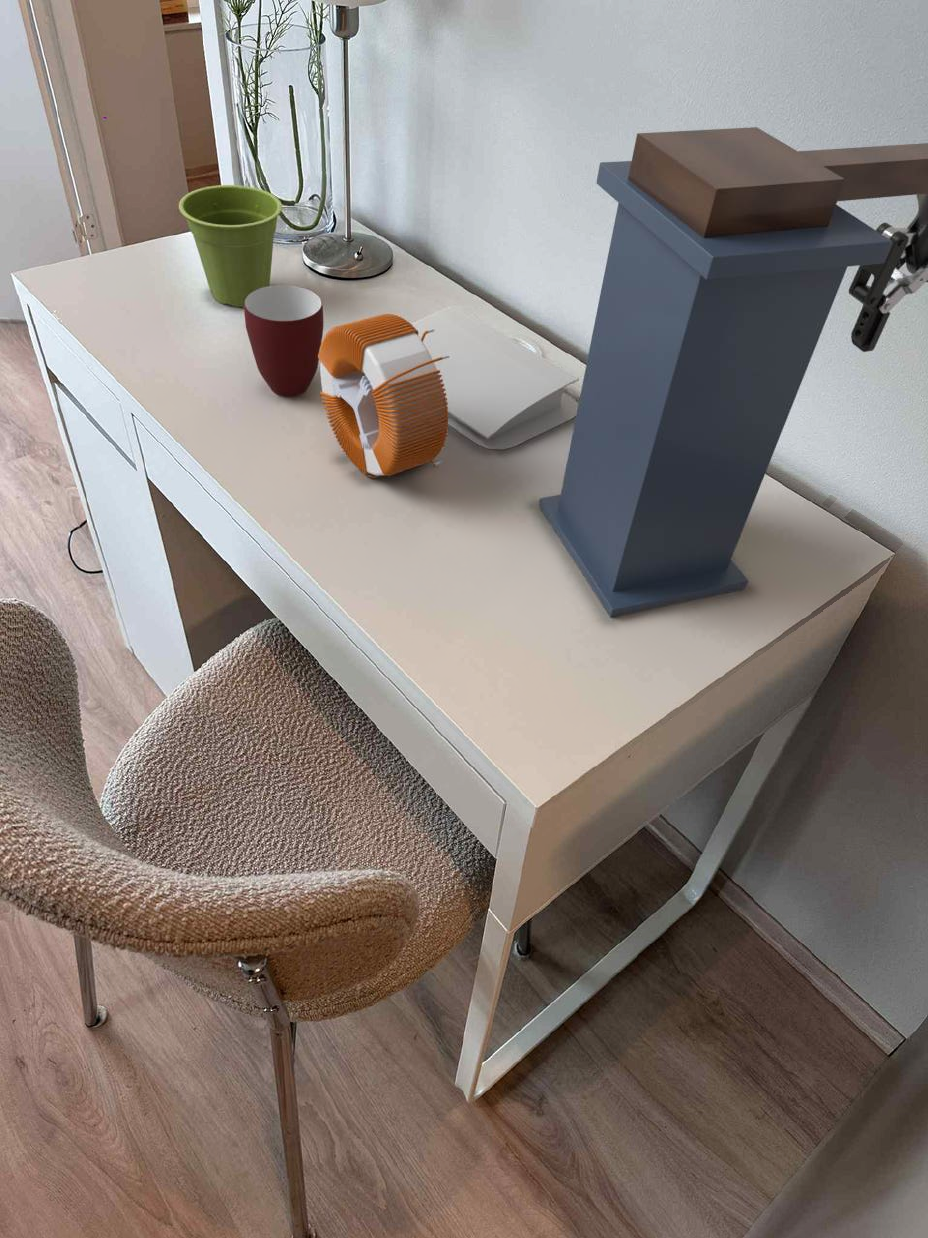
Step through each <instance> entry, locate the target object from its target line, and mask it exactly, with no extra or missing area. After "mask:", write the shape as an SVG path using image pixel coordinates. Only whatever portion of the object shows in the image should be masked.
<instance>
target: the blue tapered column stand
mask: <svg viewBox="0 0 928 1238" xmlns="http://www.w3.org/2000/svg"><path fill="white" fill-rule="evenodd" d="M631 161H632V160H624V161H623V160H622V161H621V160H620V161H601V162H599V166H598V172H597V177H596V182H595V183H596V184H597V186H599V187H600V188H601V189H602V190H603V191H604V192H606V193H607V194H608V195H609V196H610V197H611V198H612V199H614V201H616V202H617V208H616V213H615V219H614V223H613V227H612V234H611V238H610V243H609V248H608V254H607V257H606V264H605V269H604V273H603V279H602V284H601V290H600V293H599V298H598V304H597V309H596V313H595V318H594V324H593V329H592V334H591V339H590V344H589V350H588V355H587V359H586V364H585V369H584V375H583V379H582V384H581V390H580V395H579V399H578V409H577V414H576V416H575V420H574V425H573V430H572V435H571V439H570V445H569V450H568V456H567V461H566V465H565V471H564V476H563V481H562V486H561V491H560V494H556V495H550V496H544V497H540V498H539V502H538V507H539V508H540V510H541V512H542V513H543V515H544V516H545V517H546V519H547V521H548V522H549V524H550V526H551V527H552V529H553V530H554V532H555V534H556V535H557V537H558V538H559V539H560V542H561V543H562V545H563V546H564V548H565V549H566V551H567V552H568V555H570V557H571V559H572V560H573V562H574V564H575V565H576V566H577V568H578V569H579V571H580V573H581V574H582V576H583V577H584V579H585V581H586V583H588V585H589V587H590V588H591V590H592V591H593V594H595V596H596V597H597V599H598V600H599V602H600V604H601V605H602V607H603V608H604V610H605V611H606V613H607V614H608V617H609V618H615V617H619V616H623V615H628V614H634V613H637V612H642V611H643V612H644V611H647V610H648V611H649V610H650V609H651V610H653V609H656V608H661V607H665V606H670V605H675V604H679V603H685V602H688V601H694V600H699V599H703V598H707V597H711V596H717V595H721V594H726V593H730V592H735V591H739V590H745V589H746V588H747V585H748V583H749V580H748V579H747V577H746V576H745V575H744V573H743V572H742V571H741V569H739V567H738V566H737V565H736V564H735V563H734V561H733V560H732V558H733V556H734V553H735V550H736V548H737V545H738V544H739V541H740V538H741V535H742V533H743V530H744V528H745V525H746V523H747V520H748V518H749V515H750V513H751V511H752V508H753V505H754V503H755V500H756V498H757V496H758V493H759V490H760V487H761V486H762V483H763V481H764V478H765V475H766V473H767V470H768V468H769V465H770V463H771V460H772V457H773V455H774V452H775V450H776V447H777V445H778V443H779V441H780V437H781V435H782V432H783V430H784V427H785V425H786V422H787V421H788V417H789V415H790V412H791V410H792V408H793V405H794V402H795V400H796V397H797V395H798V392H799V391H800V387H801V385H802V382H803V380H804V378H805V374H806V372H807V370H808V367H809V365H810V362H811V360H812V357H813V355H814V352H815V349H816V347H817V345H818V342H819V340H820V337H821V334H822V332H823V329H824V327H825V325H826V322H827V320H828V316H829V314H830V312H831V309H832V307H833V304H834V301H835V299H836V296H837V294H838V292H839V289H840V287H841V284H842V282H843V279H844V277H845V274H846V272H847V269H848V267H859V266H860V265H870V264H880V263H884V262H885V260H886V257H887V255H888V253H889V250H890V248H891V246H892V243H893V241H891V240H890V239H888V238H887V237H885V236H884V235H882V234H881V233H879V232H877V231H876V229H874V227H872V226H870V225H868V224H867V223H865V222H864V221H862V220H860V219H859V217H856V216H855V215H853V214H852V213H851V212H848V211H847V210H845V208H842V207H841V206H839V205H838V204H836V206H835V209H834V212H833V214H832V217H831V220H830V223H829V225H828V226H820V227H809V228H799V229H789V230H778V231H768V232H758V233H747V234H737V235H727V236H716V237H706V238H704V237H702V236H701V235H700V234H698V233H697V232H696V231H694V230H693V229H692V228H691V227H689V226H688V225H687V224H685V223H684V222H683V221H682V220H680V219H679V218H678V217H676V216H675V215H674V214H673V213H671V212H670V211H669V210H667V209H666V208H665V207H664V206H662V205H661V204H660V203H658V202H657V201H656V200H654V199H653V198H652V197H651V196H649V195H648V194H647V193H645V192H644V191H643V190H642V189H640V188H639V187H638V186H636V185H635V184H634V183H633V182H631V181H630V180H629V179H628V176H629V171H630V166H631Z"/></svg>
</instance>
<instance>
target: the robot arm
mask: <svg viewBox="0 0 928 1238" xmlns="http://www.w3.org/2000/svg"><path fill="white" fill-rule="evenodd" d="M916 200H917V206H918V208H917V209H918V210H917V213H916V215H915V217H914V218H913V220H912V221H911V222H910V223H909V225H908V226H907V227H902V228H901V227H900V228H899V227H898V228H896V227H895V226H893V225H891V224H890V223H888V222H882V223H880V224H879V225H878V226H877V228H876V229H875V230H876V231H877V232H879V233H881V234H882V235H884V236H885V237H887V238H888V239H890V240H891V241H893V243H892V246H891V248H890V250H889V253H888V255H887V257H886V260H885V262H884V263H880V264H870V265H859V266H858V268H857V271H856V273H855V275H854V277H853V279H852V282H851V284H850V286H849V288H848V294H849V295H850V296H852V297H853V298H854V299H856V301H858V302H859V303H861V304H862V308H861V309H860V312H859V315H858V317H857V319H856V322H855V323H854V325H853V328H852V331H851V334H850V339H851V343H852V345H854V346H855V348H857V349H858V350H860V351H861V352H863V353H867V352H873V351H874V350H875V349H876V346H877V343H878V341H879V339H880V337H881V335H882V333H883V332H884V331H883V330H884V328H885V326H886V324H887V322H888V320H889V317H890V316H891V312H890V311H891V310H893V308H894V307H895V306H896V305H898V304H899V302H900V301H901V300H902V299H903V298H904V297H905V296H907V295H912V294H915V293H916V292H917V291H919V289H921V287H922V286H923V285H925V284H926V283H928V194H917V195H916ZM904 265H905V268H906V269H907V271H908V272H909V274H911V275H906V274H905V273H903V272H902V271H901V270H900V269H901V268H902V267H903V266H904ZM872 276H873V279H872V282H871V284H870V285H868V283H869V281H870V278H871V277H872ZM892 284H895V286H894V287H893V288H892V289H891V290H890V291H889V292H888V293H887V294H885V291H886V289H888V287H889V286H890V285H892Z"/></svg>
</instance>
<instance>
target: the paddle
mask: <svg viewBox="0 0 928 1238" xmlns="http://www.w3.org/2000/svg"><path fill="white" fill-rule="evenodd" d="M630 161H631V166H630V171H629V176H628V179H629V180H630V181H631V182H633V183H634V184H635V185H636V186H638V187H639V188H640V189H642V190H643V191H644V192H645V193H647V194H648V195H649V196H651V197H652V198H653V199H654V200H656V201H657V202H658V203H660V204H661V205H662V206H664V207H665V208H666V209H667V210H669V211H670V212H671V213H673V214H674V215H675V216H676V217H678V218H679V219H680V220H682V221H683V222H684V223H685V224H687V225H688V226H689V227H691V228H692V229H693V230H694V231H696V232H697V233H698V234H700V235H701V236H702V237H704V238H706V237H716V236H727V235H737V234H747V233H758V232H768V231H778V230H789V229H799V228H809V227H820V226H828V225H829V223H830V220H831V217H832V214H833V212H834V209H835V206H836V205H838V204H837V203H838V202H847V201H856V200H857V201H858V200H870V199H879V198H880V199H881V198H893V197H905V196H915V195H916V196H917V194H928V142H924V143H922V142H921V143H909V144H907V143H906V144H893V145H890V144H889V145H877V146H875V145H874V146H859V147H846V148H843V147H842V148H828V149H815V150H814V149H811V150H796V149H794V148H793V147H791V146H790V145H788V144H786V143H784V142H783V141H781V140H780V139H778V138H776V137H775V136H773V135H771V134H769V133H767V132H766V131H764V130H762V129H761V128H759V127H757V126H754V127H753V126H752V127H751V126H750V127H733V128H716V129H696V130H695V129H694V130H677V131H676V130H675V131H659V132H658V131H656V132H655V131H654V132H638V133H636V137H635V142H634V147H633V151H632V157H631V160H630Z"/></svg>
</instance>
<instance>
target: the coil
mask: <svg viewBox="0 0 928 1238" xmlns="http://www.w3.org/2000/svg"><path fill="white" fill-rule="evenodd" d="M430 332H434V329H430V330H427V331H425V332H424V333H423V335H422V338H421V339H420V337H419V336H418V330H416V328H415V327H413V325H411V322H410V321H408V320H407V319H405V318H404V317H402V316H399V315H396V314H394V313H383V314H379V315H375V316H372V317H371V316H370V317H367V318H363V319H360V320H356V321H352V322H347V323H345V324H341V325H337V326H335V327H332V328H331V329H330V330H328V331H327V332H326V333H325V335H324V337H322V342H321V346H320V349H319V354H318V358H319V362H320V365H319V366H320V367H319V368H320V369H319V372H320V373H319V374H320V384H321V391H320V395H321V396H320V398H321V399H322V400H321V402H322V403H323V405H322V406H323V407H324V411H325V415H328V416H327V418H326V419H328V423H329V426H330V427H331V431H333V435H335V436H334V437H335V439H336V440H337V442H338V444H339V446H340V448H341V449H342V451H343V452H344V454H345V455H346V457H347V458H348V459H349V461H350V462H351V463H352V464H353V465H354V466H355V467H356V469H358V470H359V471H360V472H361V473H363V474H364V475H365V476H366V477H368V478H380V477H381V478H382V477H385V476H386V477H390V476H393V475H396V474H398V473H401V472H404V471H408V470H410V469H412V468H415V467H419V466H421V465H423V464H426V463H430V464H431V466H432V467H435V466H438V465H441V464H442V462H441V461H437V462H434V460H435V459H436V458H437V457H438V456H439V455H440V453H441V452H442V450H443V448H444V446H445V444H446V440H447V437H448V430H449V424H448V422H449V420H448V418H449V416H448V413H449V412H448V406H447V405H448V402H446V400H447V398H446V397H445V396H446V393H443V392H444V391H445V390H446V389H445V388H442V387H444V384H441V382H443V379H440V377H442V375H438V373H440V370H437V369H436V366H435V364H434V362H436V361H439V360H442V359H446V358H449V355H446V356H443V357H439V358H436V359H433V360H432V358H431V355H430V353H429V351H428V350H427V348H426V346H425V345H424V343H423V340H424V338H425V335H426V334H427V333H430Z"/></svg>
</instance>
